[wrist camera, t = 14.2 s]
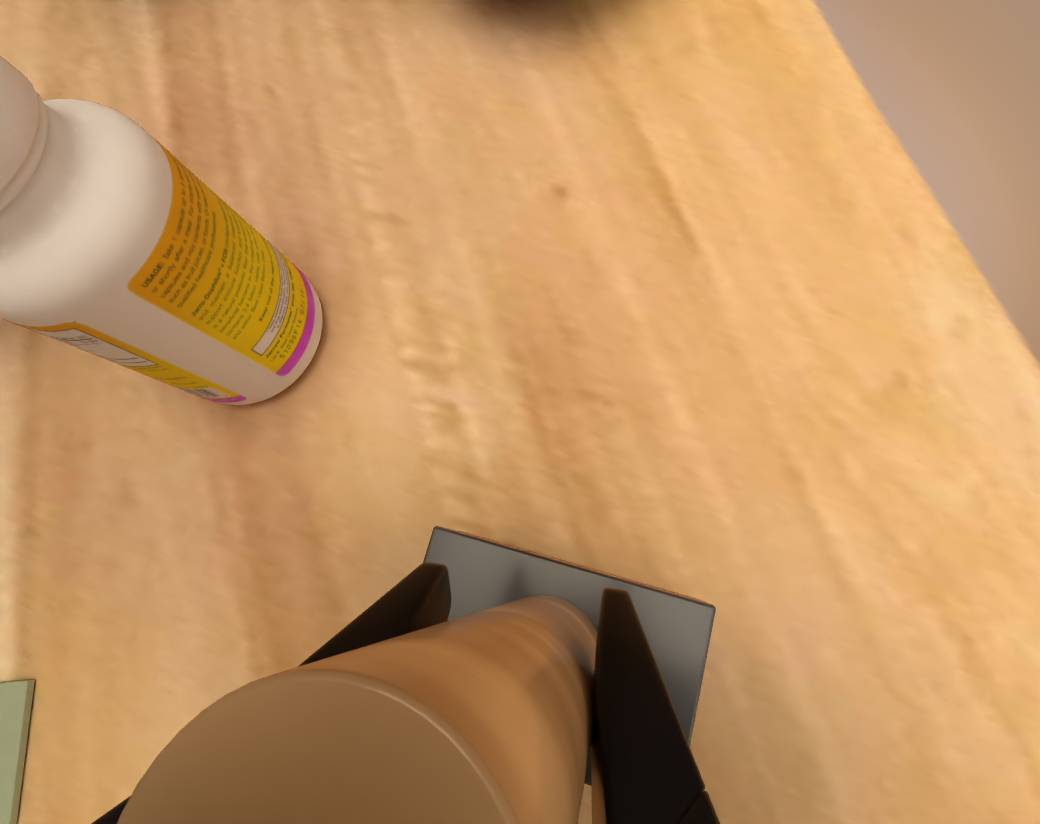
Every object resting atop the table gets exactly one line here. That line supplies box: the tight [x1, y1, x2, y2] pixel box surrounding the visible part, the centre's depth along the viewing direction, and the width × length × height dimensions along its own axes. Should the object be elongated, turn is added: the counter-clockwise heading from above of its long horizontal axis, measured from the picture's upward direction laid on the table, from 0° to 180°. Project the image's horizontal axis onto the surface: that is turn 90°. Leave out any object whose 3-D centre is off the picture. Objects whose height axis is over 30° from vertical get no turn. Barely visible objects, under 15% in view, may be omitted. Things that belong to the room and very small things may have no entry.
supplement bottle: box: [0, 56, 322, 405], centre depth 18 cm, size 7×7×13 cm
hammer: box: [117, 526, 716, 824], centre depth 10 cm, size 7×4×14 cm, turn 74°
